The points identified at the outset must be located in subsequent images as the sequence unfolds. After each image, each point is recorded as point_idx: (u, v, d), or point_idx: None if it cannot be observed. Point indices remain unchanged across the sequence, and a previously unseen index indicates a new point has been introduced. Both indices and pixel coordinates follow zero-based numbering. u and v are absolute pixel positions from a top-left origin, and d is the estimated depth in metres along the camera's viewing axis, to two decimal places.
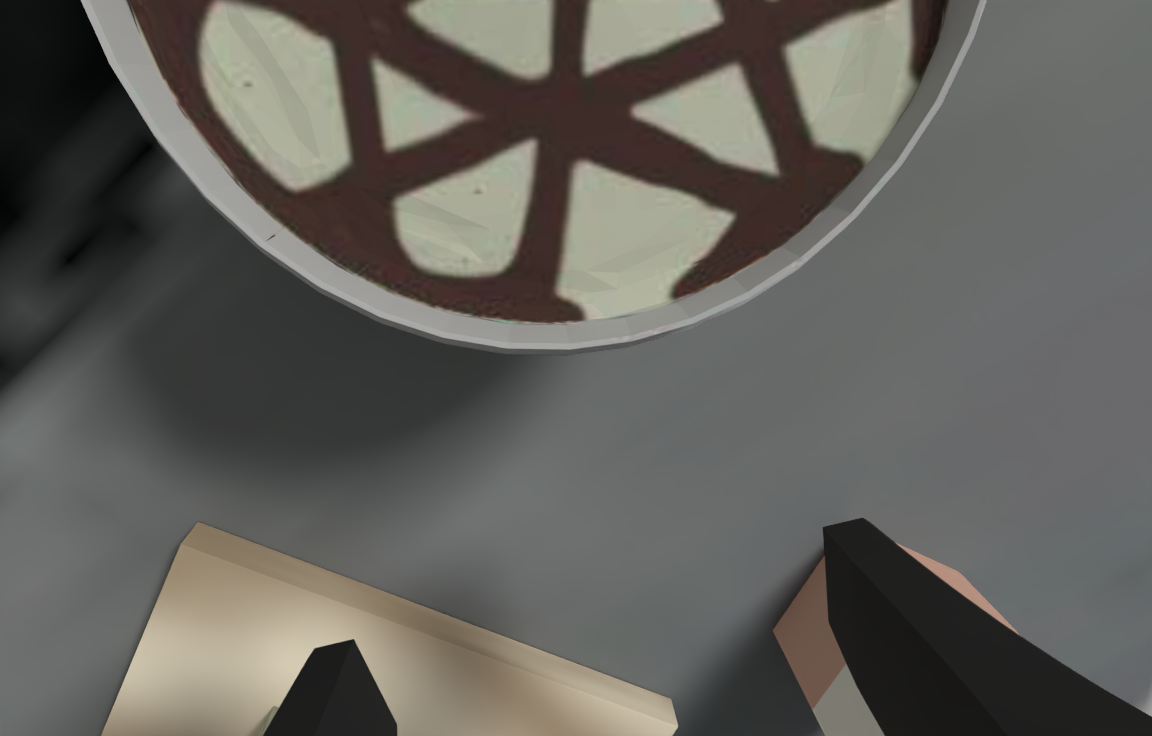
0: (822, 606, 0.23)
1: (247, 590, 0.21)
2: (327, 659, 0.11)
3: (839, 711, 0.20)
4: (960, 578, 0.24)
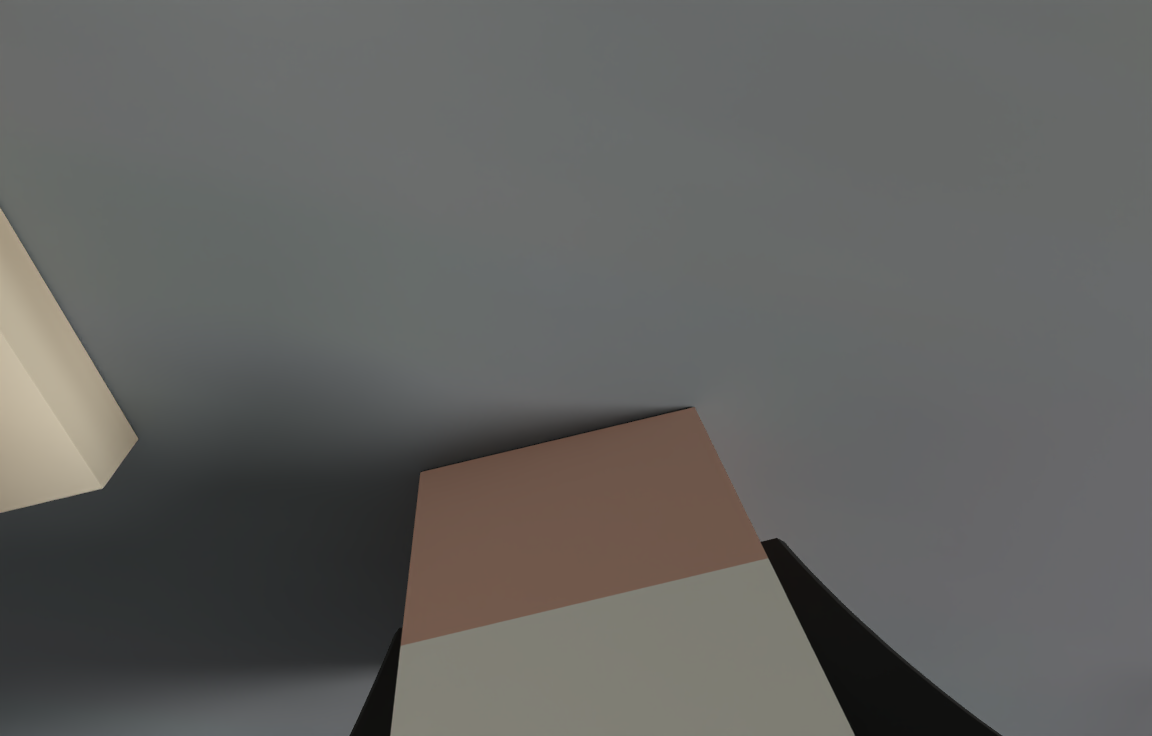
0: (554, 493, 0.11)
1: None
2: None
3: (464, 689, 0.08)
4: None
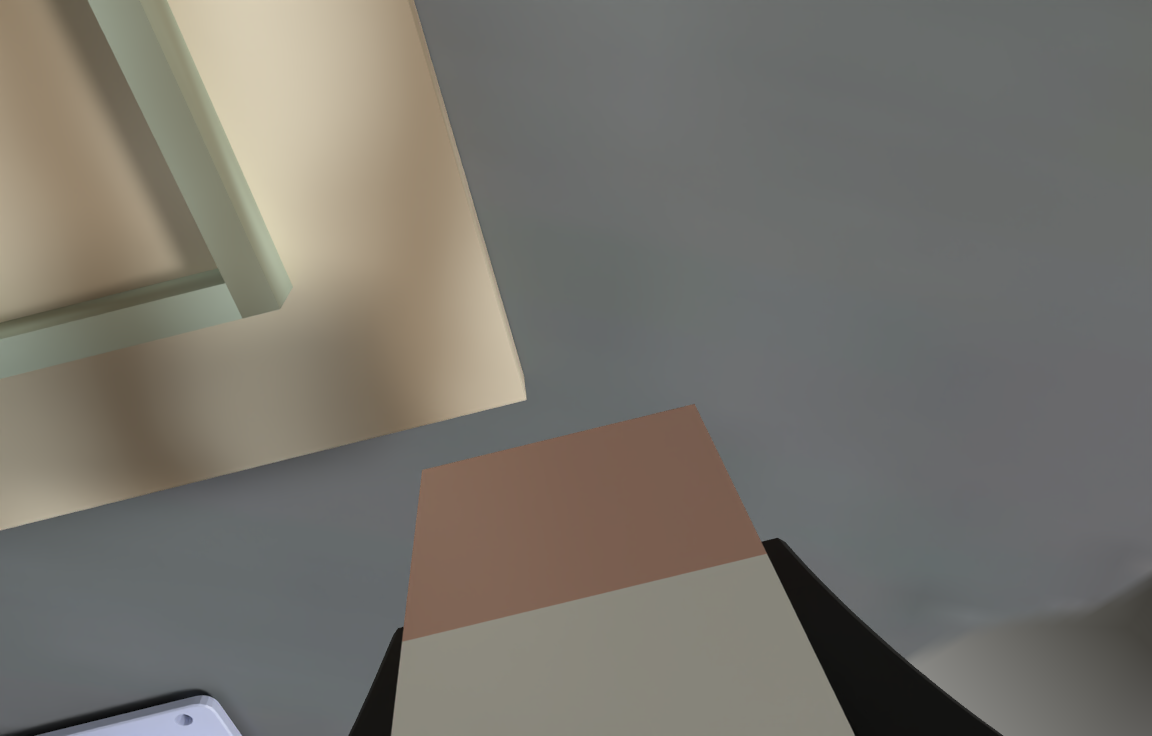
0: (555, 490, 0.11)
1: None
2: None
3: (465, 684, 0.08)
4: None
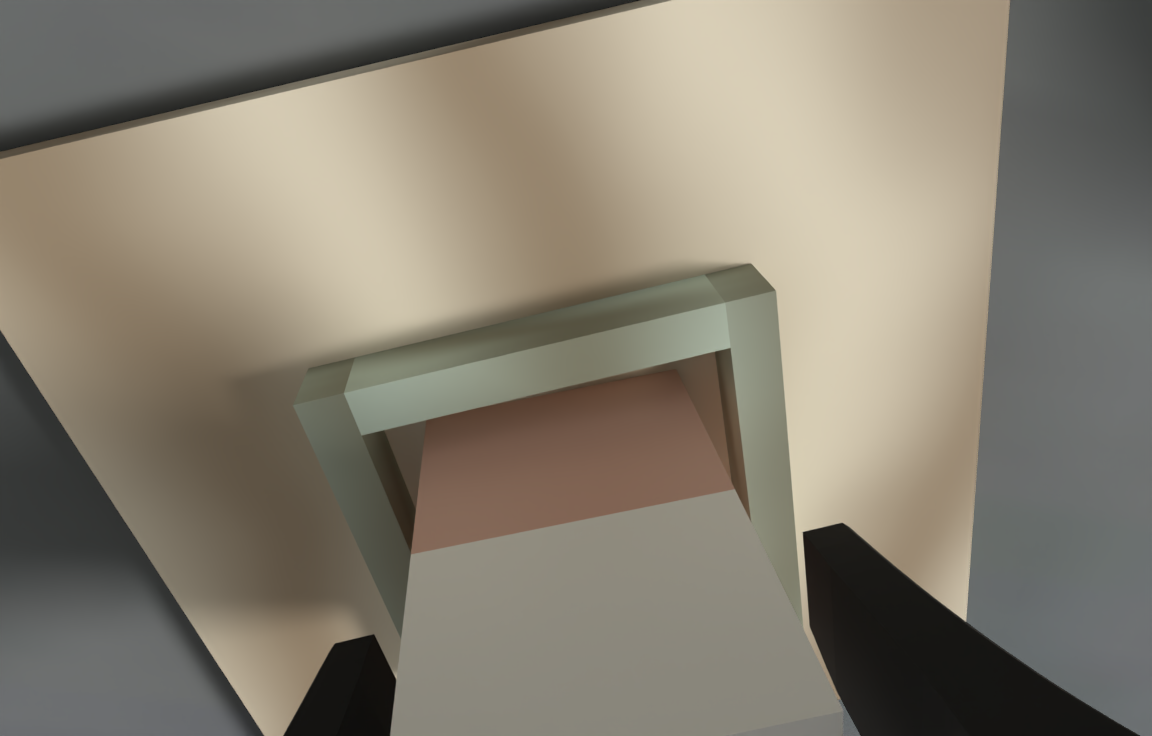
0: (548, 436, 0.12)
1: (961, 87, 0.12)
2: (349, 654, 0.11)
3: (468, 587, 0.09)
4: None
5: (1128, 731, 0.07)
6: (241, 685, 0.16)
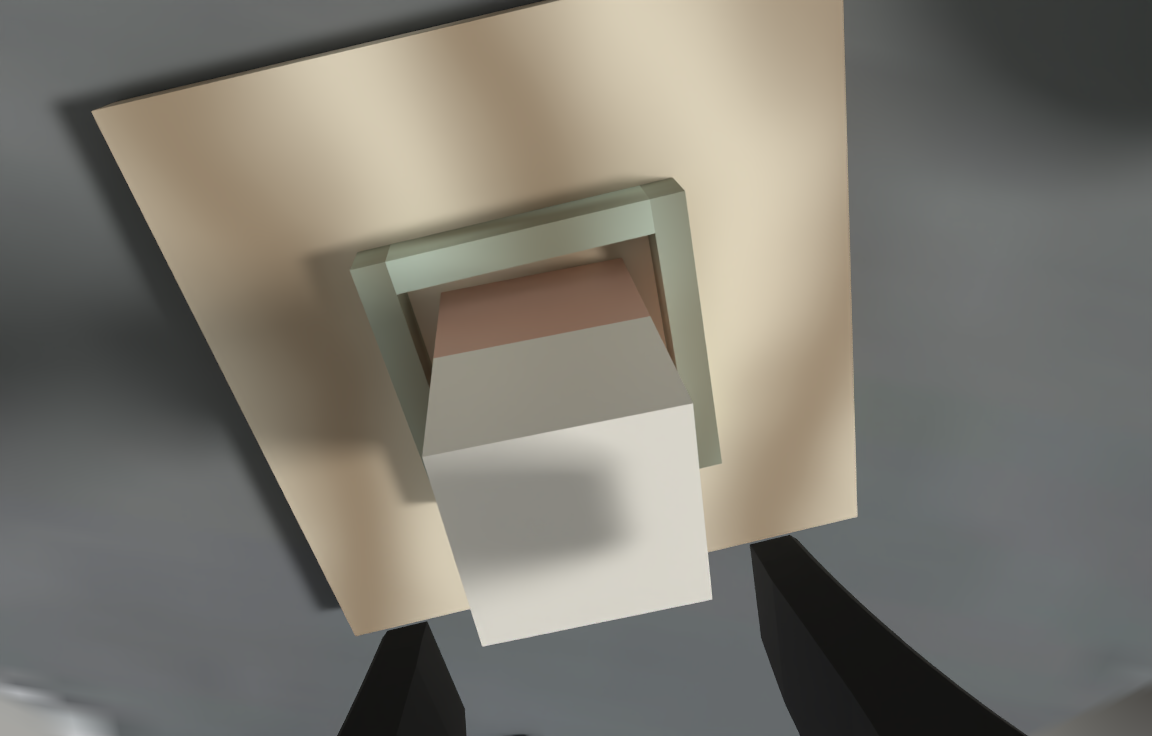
0: (528, 297, 0.17)
1: (814, 50, 0.17)
2: (403, 641, 0.11)
3: (471, 370, 0.15)
4: None
5: None
6: (299, 510, 0.21)
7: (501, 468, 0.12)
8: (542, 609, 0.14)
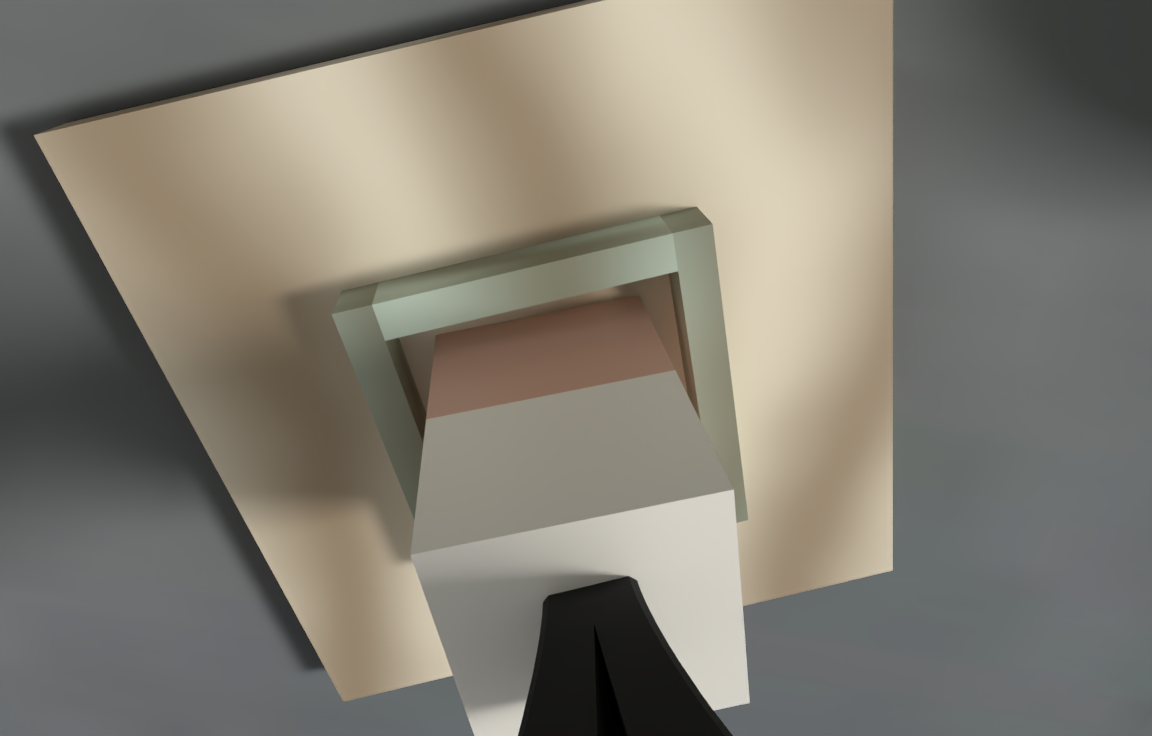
0: (533, 343, 0.15)
1: (858, 64, 0.15)
2: (570, 601, 0.11)
3: (470, 436, 0.13)
4: None
5: None
6: (279, 569, 0.19)
7: (504, 565, 0.10)
8: None
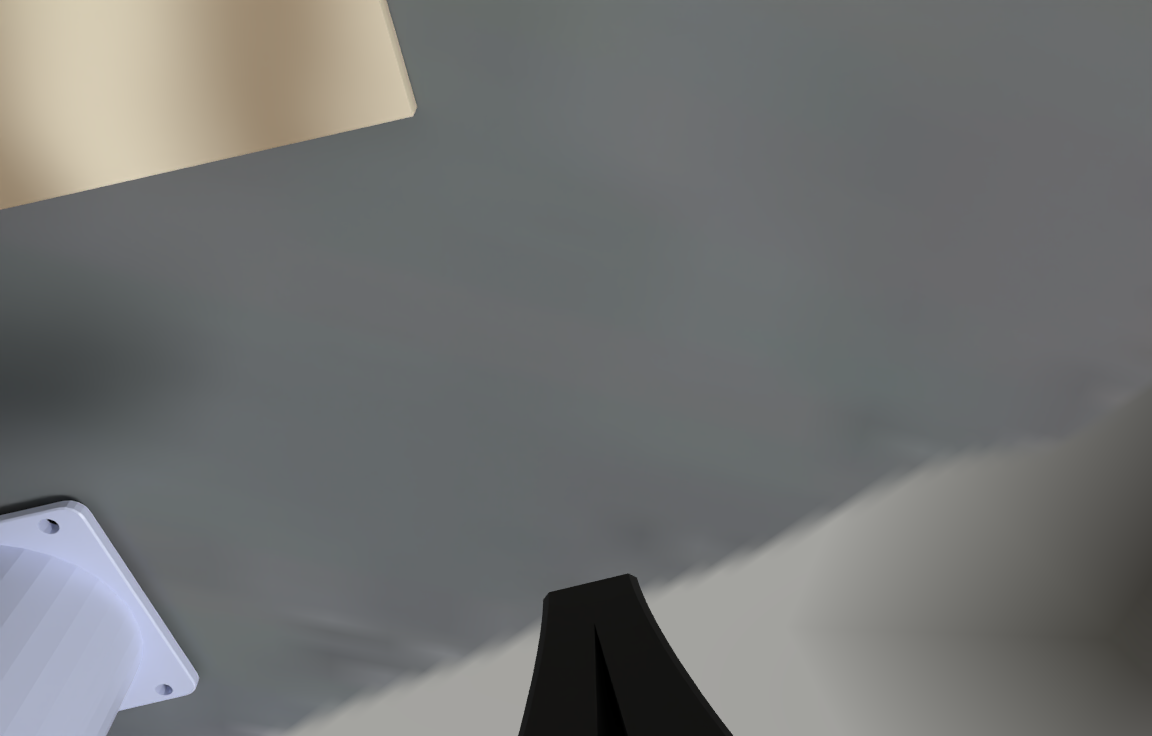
0: None
1: None
2: (570, 601, 0.11)
3: None
4: None
5: None
6: None
7: None
8: None
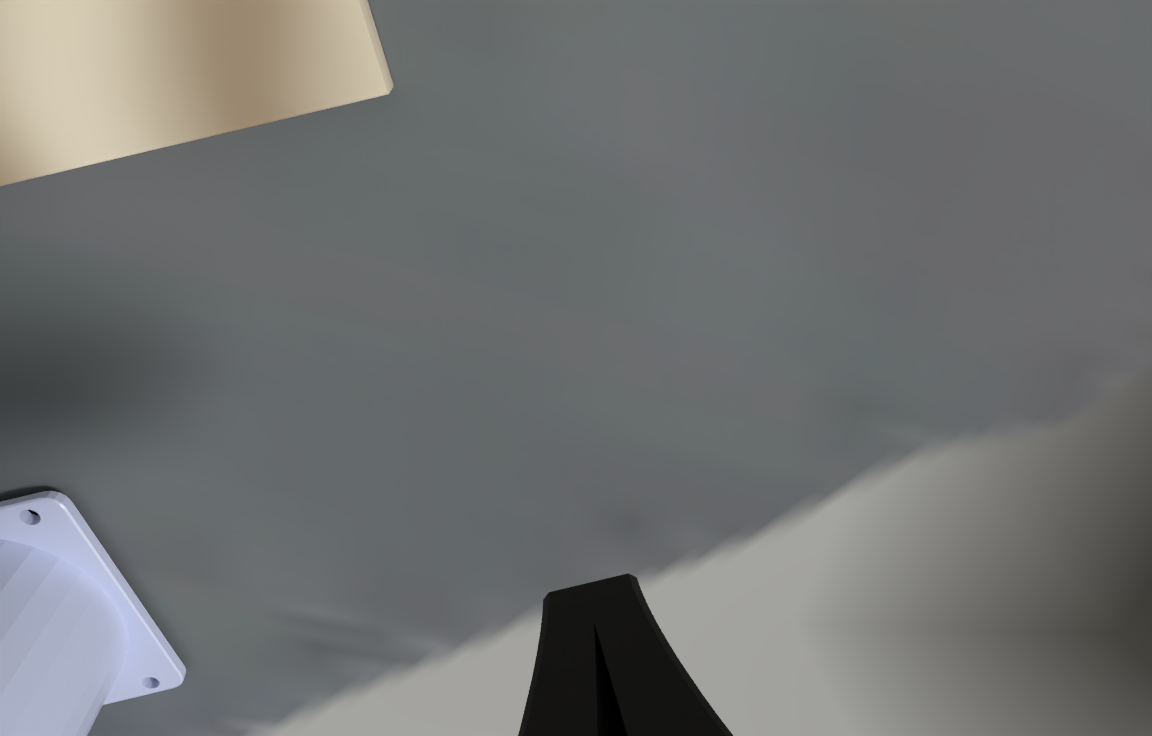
0: None
1: None
2: (570, 601, 0.11)
3: None
4: None
5: None
6: None
7: None
8: None
